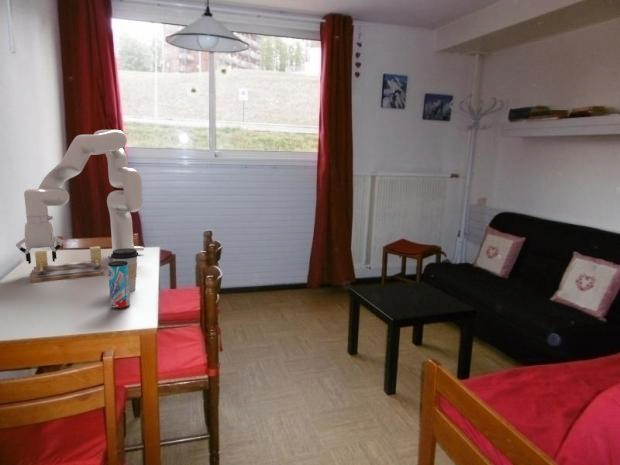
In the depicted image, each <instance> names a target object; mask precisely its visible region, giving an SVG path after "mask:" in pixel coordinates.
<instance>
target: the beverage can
mask: <svg viewBox="0 0 620 465" xmlns="http://www.w3.org/2000/svg"><path fill="white" fill-rule="evenodd" d="M107 268H108V269H107V270H108V271H107V272H108V284H109V296H110V297H109V298H110V307H111V309H112V310H125V309H127V308H129V307H130V306H131V297H130V296H131V294H130V293H131V292H129V275H128V262H126V261H114V262H113V261H110V262H108V264H107Z"/></svg>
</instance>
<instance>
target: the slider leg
mask: <svg viewBox="0 0 620 465" xmlns="http://www.w3.org/2000/svg"><path fill="white" fill-rule="evenodd" d="M34 257H35V258H34V259H35V266H36V268H39V267H40V273H43V267H48V265H49V261H48V260H49V259H48V258H49V257H48V250H36V251H35V252H34Z"/></svg>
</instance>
